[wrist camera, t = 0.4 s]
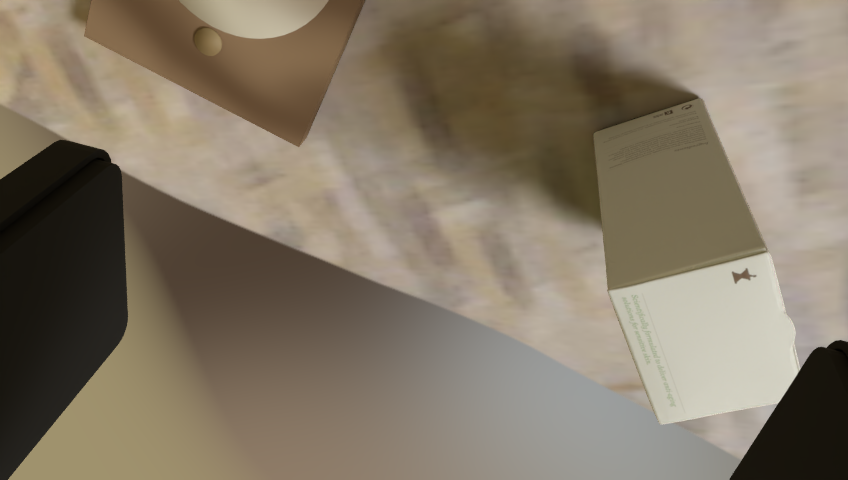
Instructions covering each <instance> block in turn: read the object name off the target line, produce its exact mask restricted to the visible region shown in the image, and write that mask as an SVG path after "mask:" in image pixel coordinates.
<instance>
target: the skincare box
mask: <svg viewBox="0 0 848 480" xmlns="http://www.w3.org/2000/svg"><path fill="white" fill-rule="evenodd" d="M593 138H594V147H595V158H596V167H597V176H598V187H599V198H600V210H601V221H602V231H603V242H604V252H605V262H606V274H607V285H608V290H607V291H608V294H609V296H610V299H611V302H612V304H613V307H614V310H615V313H616V315H617V318H618V321H619V323H620V326H621V329H622V331H623V334H624V336H625V339H626V342H627V344H628V347H629V349H630V352H631V355H632V357H633V360H634V363H635V365H636V368H637V370H638V373H639V376H640V378H641V381H642V383H643V386H644V389H645V391H646V394H647V396H648V398H649V401H650V403H651V406H652V408H653V411H654V413H655V415H656V417H657V420H658V422H659V424H667V423H673V422H680V421H685V420H690V419H696V418H701V417H705V416H710V415H715V414H720V413H725V412H731V411H736V410H742V409H748V408H753V407H759V406H765V405H771V404H776V403H779V402H780V400H781V399H782V397H783V396H784V394H785V393H786V391H787V389H788V388H789V386H790V385H791V383H792V382H793V380H794V379H795V377H796V375H797V374H798V372H799V371H800V366H799V362H798V357H797V353H796V349H795V344H794V340H795V327H794V324H793V322H792V320H791V319H790V318H789V316H788V315H787V314H786V310H785V306H784V302H783V298H782V295H781V291H780V287H779V283H778V280H777V276H776V272H775V268H774V265H773V261H772V258H771V255H770V252H769V251H768V248H767V246H766V244H765V241H764V239H763V237H762V235H761V233H760V230H759V228H758V226H757V224H756V221H755V219H754V217H753V214H752V212H751V210H750V207H749V205H748V203H747V201H746V198H745V196H744V194H743V191H742V189H741V187H740V185H739V182H738V180H737V178H736V175H735V173H734V171H733V168H732V166H731V164H730V161H729V159H728V157H727V154H726V152H725V150H724V148H723V145H722V143H721V141H720V139H719V136H718V134H717V132H716V130H715V127H714V125H713V123H712V120H711V118H710V115H709V113H708V110H707V107H706V105H705V102H704V100H703V99H700V98H699V99H695V100H692V101H689V102H686V103H683V104H680V105H677V106H674V107H670V108H667V109H664V110H661V111H658V112H655V113H652V114H649V115H645V116H642V117H639V118H636V119H633V120H630V121H627V122H624V123H621V124H618V125H615V126H612V127H609V128H606V129H603V130H600V131H597V132H595V133H594V134H593Z"/></svg>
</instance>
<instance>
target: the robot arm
mask: <svg viewBox="0 0 848 480" xmlns="http://www.w3.org/2000/svg"><path fill="white" fill-rule="evenodd" d="M125 265H126V263H125V241H124V219H123V195H122V175H121V170H120V168H119V166H117V165H116V164H113V163H111V159H110V157H109V154H108V153H107V152H106V151H104V150H102V149H98V148H94V147H90V146H86V145H82V144H79V143H75V142H71V141H66V140H59V141H57V142H54V143H53V144H51V145H50V146H49V147H47V148H46V149H44V150H43V151H41V152H40V153H38V154H37V155H35V156H34V157H32V158H31V159H30V160H28V161H27V162H25V163H24V164H22V165H21V166H19V167H18V168H16V169H15V170H13V171H12V172H11V173H9V174H8V175H6V176H5V177H3V178H2V179H0V480H8V479H9V477H10V476H11V475H12V474H13V472H14V471H15V470H16V469H17V468H18V466H19V465H20V464H21V463H22V462H23V460H24V459H25V458H26V457H27V455H28V454H29V453H30V452H31V451H32V449H33V448H34V447H35V446H36V444H37V443H38V442H39V441H40V440H41V438H42V437H43V436H44V435H45V433H46V432H47V431H48V430H49V428H50V427H51V426H52V425H53V424H54V422H55V421H56V420H57V419H58V417H59V416H60V415H61V414H62V412H63V411H64V410H65V409H66V408H67V406H68V405H69V404H70V403H71V402H72V400H73V399H74V398H75V396H76V395H77V394H78V393H79V392H80V390H81V389H82V388H83V387H84V386H85V384H86V383H87V382H88V380H89V379H90V378H91V377H92V376H93V375H94V373H95V372H96V371H97V370H98V368H99V367H100V366H101V365H102V363H103V362H104V361H105V360H106V359H107V357H108V356H109V355H110V354H111V353H112V351H113V350H114V349H115V348H116V346H117V345H118V344H119V342H120V341H121V339H122V337H123V335H124V332H125V330H126V326H127V321H128V310H127V287H126V266H125ZM730 480H848V342H846V341H842V340H839V341H834V342H833V343H831V344H830V345H829V346H828V347H827V348H824V347H818V348H816V349H815V350H813V352H812V353H811V354H810V355H809V357H808V358H807V360H806V362H805V363H804V365H803V366H802V368H801V369H800V371H799V372H798V374H797V375H796V377H795V379H794V380H793V382H792V383H791V385H790V386H789V388H788V389H787V391H786V393H785V394H784V396H783V397H782V399H781V400H780V402H779V403H778V405H777V406H776V408H775V410H774V411H773V413H772V414H771V416H770V417H769V419H768V420H767V422H766V423H765V425H764V427H763V428H762V430H761V431H760V433H759V434H758V436H757V437H756V439H755V440H754V442H753V444H752V445H751V447H750V448H749V450H748V451H747V453H746V454H745V456H744V458H743V459H742V461H741V462H740V464H739V465H738V467H737V468H736V470H735V471H734V473H733V475H732V476H731V478H730Z"/></svg>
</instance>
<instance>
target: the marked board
mask: <svg viewBox="0 0 848 480" xmlns="http://www.w3.org/2000/svg"><path fill="white" fill-rule="evenodd" d="M364 2H365V0H91V4H90V9H89V14H88V19H87V24H86V29H85V34H84V36H85V37H87V38H89V39H91V40H93V41H95V42H97V43H99V44H101V45H102V46H104V47H106V48H108V49H110V50H112V51H114V52H116V53H118V54H120V55H122V56H124V57H126V58H128V59H129V60H131V61H133V62H135V63H137V64H139V65H141V66H143V67H145V68H147V69H149V70H151V71H153V72H155V73H157V74H158V75H160V76H162V77H164V78H166V79H168V80H170V81H172V82H174V83H176V84H178V85H180V86H182V87H184V88H186V89H187V90H189V91H191V92H193V93H195V94H197V95H199V96H201V97H203V98H205V99H207V100H209V101H211V102H213V103H215V104H216V105H218V106H220V107H222V108H224V109H226V110H228V111H230V112H232V113H234V114H236V115H238V116H240V117H242V118H243V119H245V120H247V121H249V122H251V123H253V124H255V125H257V126H259V127H261V128H263V129H265V130H267V131H269V132H271V133H272V134H274V135H276V136H278V137H280V138H282V139H284V140H286V141H288V142H290V143H292V144H294V145H296V146H298V147H299V146H300V145H301V144H302V143H303V141H304V140H305V139H306V137H307V135H308V133H309V130H310V128H311V126H312V123H313V121H314V119H315V116H316V114H317V112H318V109H319V107H320V105H321V102H322V100H323V98H324V95H325V93H326V91H327V88H328V86H329V84H330V81H331V79H332V77H333V74H334V72H335V70H336V67H337V65H338V63H339V60H340V58H341V56H342V53H343V51H344V49H345V46H346V44H347V42H348V39H349V37H350V35H351V32H352V30H353V28H354V25H355V23H356V21H357V18H358V16H359V14H360V11H361V9H362V7H363V4H364Z"/></svg>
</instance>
